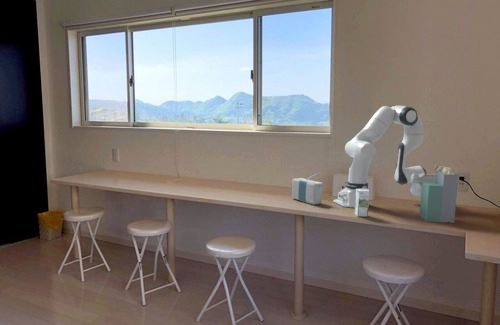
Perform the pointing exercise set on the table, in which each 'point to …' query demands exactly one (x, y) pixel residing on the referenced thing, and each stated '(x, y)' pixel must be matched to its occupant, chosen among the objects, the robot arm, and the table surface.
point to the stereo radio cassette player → (307, 190)
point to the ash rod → (445, 169)
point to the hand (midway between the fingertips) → (433, 173)
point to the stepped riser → (439, 198)
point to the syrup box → (362, 202)
